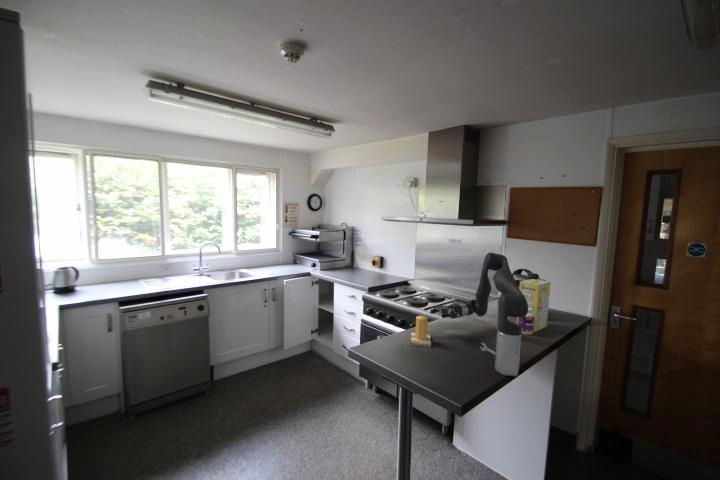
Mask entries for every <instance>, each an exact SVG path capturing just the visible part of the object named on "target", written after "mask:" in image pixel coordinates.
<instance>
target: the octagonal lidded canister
mask: <svg viewBox="0 0 720 480" xmlns="http://www.w3.org/2000/svg"><path fill="white" fill-rule="evenodd" d="M428 322H429V318H428V317H427V316H425V315H417V316H416V317H415V332H414V333H415V339H418V340H427V334H428V326H429V324H428Z"/></svg>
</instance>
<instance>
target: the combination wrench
mask: <svg viewBox="0 0 720 480" xmlns="http://www.w3.org/2000/svg"><path fill="white" fill-rule="evenodd" d="M481 345H482V346H483V347H482V346H479V349H480V350H481V351H483V352H489V353H490V354H492V355H494V356H495V357H496V350H495V351H494V350H492V349H491V348H489V347H488V346H487V344H486V343H484V342H481Z"/></svg>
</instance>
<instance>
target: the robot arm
mask: <svg viewBox="0 0 720 480" xmlns="http://www.w3.org/2000/svg"><path fill="white" fill-rule="evenodd" d="M489 270H491V271H494V272H495V273H494V274H493V277H492V278H493V279H492V280H493V283H494V286H495V288H496V290H497V291H498V292H499V293H502V294H501V295H499V297H498V302H497V303H498V307H497V308H498V311H497V312H498V315H497V330H496V331H497V333H496V345H495V346H496V348H495V352H496V356H495V362H494V363H495V364H494V369H495V371H496V372H497V373H500V375H502V376H509V377H518V375H519V372H520V371H519V369H520V359H521V358H520V355H521V344H522V343H521V342H522V328H521V327H520V326H519V325H518V324H517V323H515V322H513V321H510V320H509V319H508V317H512V318H517V317H524V316H526V315H527V313H528V303H527V300H526V298H525V296H524V295H523V294H522V292H521V291H520V289H519V288H518V286H517V284H516V281H515V279H514V277H513V275H512V271H511V269H510V265H509V261H508V258H507V257H506V256H505V255H504V254H500V253H495V252H487V253H486V255H485V257H484V258H483V264H482V269H481V273H480V278H479V283H478V287H477V290H476V291H475V296H474V297H475V298H474V299H471V300H470V301H467V302H463V303H461V302H460V303H452V304H449V305H448V306H447V307H444V306H434V307H433V308H432V309H430V312H429V313H430V314H439V315H441V318H442V319H444V318H445V319H446V318H448V319H452V320H453V319H457V318H464V317H467V316H471V315H473V314H475V315H476V316H478V317H483V316H485V315H486V314H487V312H488V308H489V307H488V305H489V298H490V294H491V292H492V285H491V281H490V278H489Z"/></svg>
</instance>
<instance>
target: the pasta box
mask: <svg viewBox="0 0 720 480" xmlns="http://www.w3.org/2000/svg"><path fill="white" fill-rule="evenodd" d="M519 289H520V291H521V292H522V294H523V295H524V296H525V298H526V300H527V303H528V308H531V309H532V313H533V314H534V326H533V333H537V332H538V331H540V330H542V329H544V328H547V327H548V317H549V316H548V315H549V305H550V293H551V292H550V291H551V281H547V280H546V281H542V280H536V279H530V280H525V281H521V282H520V286H519ZM516 324H518V317H516Z"/></svg>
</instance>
